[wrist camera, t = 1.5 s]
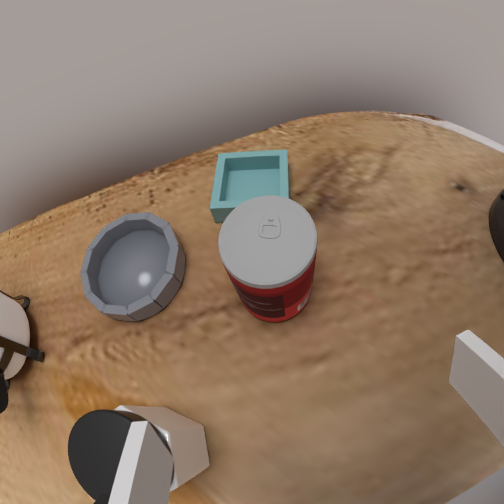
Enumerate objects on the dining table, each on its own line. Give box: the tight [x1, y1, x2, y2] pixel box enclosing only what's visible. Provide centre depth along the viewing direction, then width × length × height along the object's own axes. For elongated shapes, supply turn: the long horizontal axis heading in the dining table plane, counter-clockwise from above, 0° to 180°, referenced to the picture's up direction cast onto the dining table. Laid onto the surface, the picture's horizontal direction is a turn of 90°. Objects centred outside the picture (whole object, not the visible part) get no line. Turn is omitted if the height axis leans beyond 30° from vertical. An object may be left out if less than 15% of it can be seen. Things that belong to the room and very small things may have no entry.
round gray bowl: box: [81, 212, 186, 322], centre depth 35 cm, size 13×13×3 cm
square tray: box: [210, 150, 289, 223], centre depth 38 cm, size 9×9×3 cm
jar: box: [68, 405, 210, 500], centre depth 21 cm, size 9×8×12 cm
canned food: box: [218, 195, 317, 322], centre depth 28 cm, size 8×8×11 cm
